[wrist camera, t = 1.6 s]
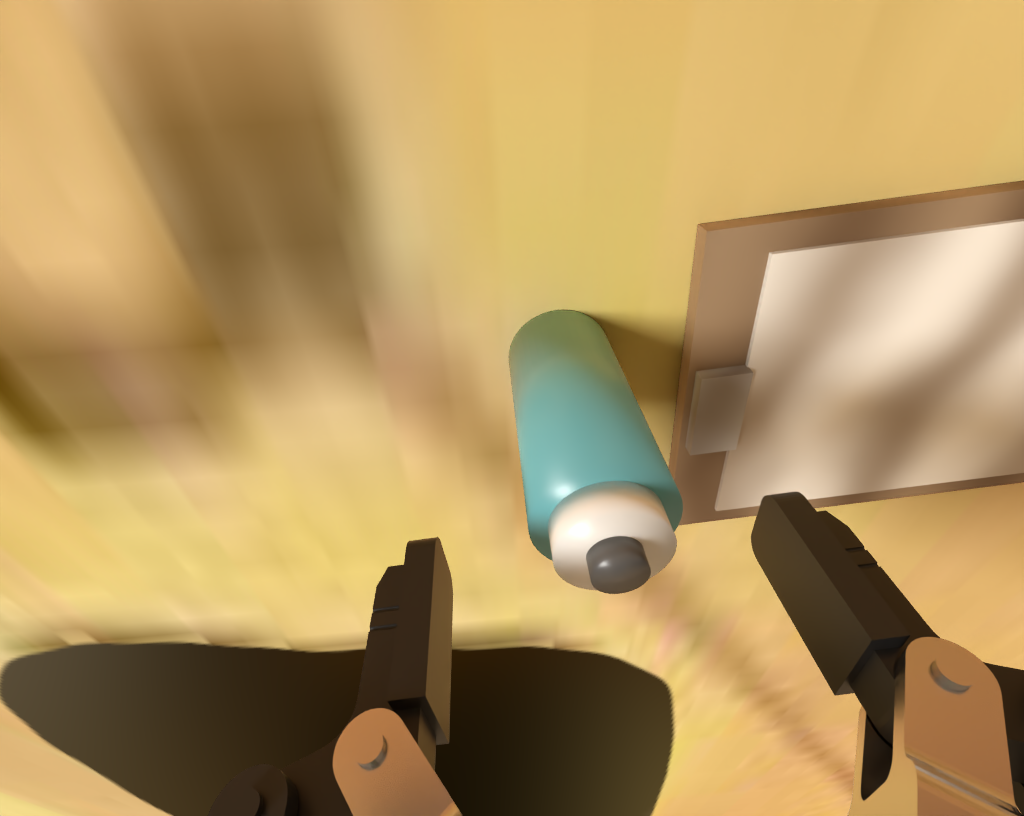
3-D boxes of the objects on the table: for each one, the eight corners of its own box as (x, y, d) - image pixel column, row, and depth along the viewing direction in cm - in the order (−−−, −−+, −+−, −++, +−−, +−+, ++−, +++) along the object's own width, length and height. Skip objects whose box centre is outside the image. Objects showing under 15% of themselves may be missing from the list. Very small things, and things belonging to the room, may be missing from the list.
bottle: (609, 303, 18) (719, 508, 10) (608, 390, 20) (696, 612, 12) (502, 317, 18) (526, 532, 10) (514, 402, 20) (541, 631, 12)
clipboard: (1294, 144, 16) (1356, 151, 15) (1044, 466, 25) (1071, 486, 24) (697, 224, 16) (714, 237, 15) (663, 514, 25) (671, 535, 24)
